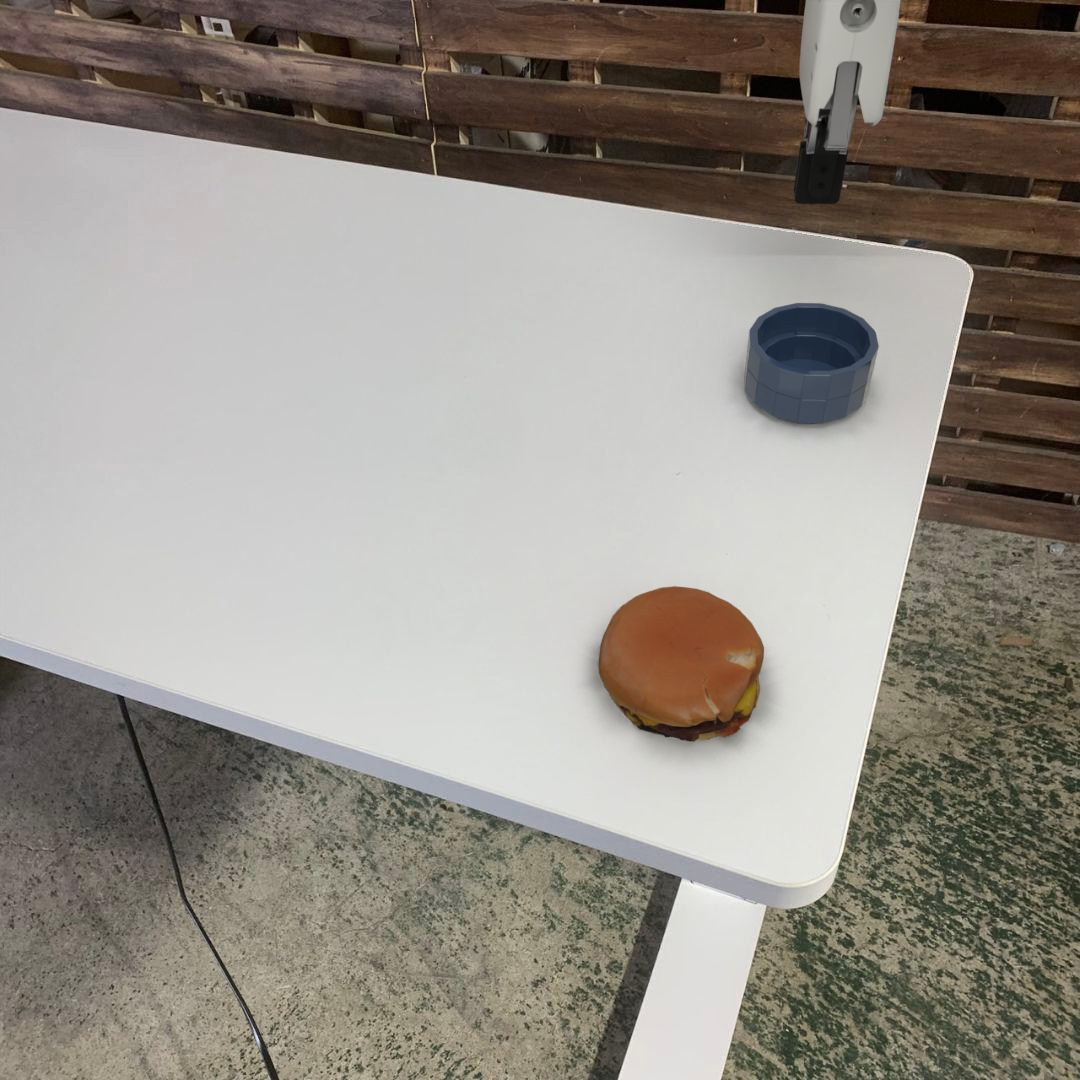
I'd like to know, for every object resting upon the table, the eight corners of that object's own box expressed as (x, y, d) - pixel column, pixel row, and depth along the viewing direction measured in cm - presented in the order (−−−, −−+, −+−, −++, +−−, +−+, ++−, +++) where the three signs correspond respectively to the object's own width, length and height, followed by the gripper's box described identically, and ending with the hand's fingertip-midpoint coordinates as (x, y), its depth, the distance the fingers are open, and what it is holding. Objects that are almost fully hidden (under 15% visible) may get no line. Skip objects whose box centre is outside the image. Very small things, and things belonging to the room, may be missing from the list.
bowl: (858, 357, 78) (870, 303, 74) (872, 431, 72) (885, 376, 68) (742, 355, 79) (748, 301, 75) (745, 428, 73) (751, 373, 69)
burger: (602, 615, 61) (602, 566, 58) (753, 620, 60) (761, 570, 57) (595, 753, 55) (594, 706, 51) (764, 761, 54) (774, 714, 50)
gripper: (946, -46, 54) (879, 252, 67) (908, -120, 64) (856, 152, 77) (807, -43, 55) (768, 251, 68) (791, -117, 65) (760, 152, 78)
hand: (815, 198), depth 72 cm, fingers closed
